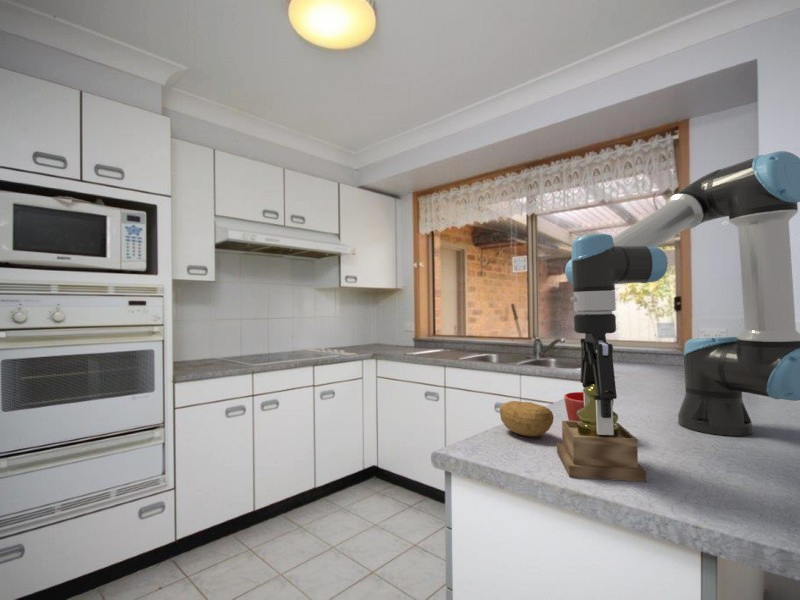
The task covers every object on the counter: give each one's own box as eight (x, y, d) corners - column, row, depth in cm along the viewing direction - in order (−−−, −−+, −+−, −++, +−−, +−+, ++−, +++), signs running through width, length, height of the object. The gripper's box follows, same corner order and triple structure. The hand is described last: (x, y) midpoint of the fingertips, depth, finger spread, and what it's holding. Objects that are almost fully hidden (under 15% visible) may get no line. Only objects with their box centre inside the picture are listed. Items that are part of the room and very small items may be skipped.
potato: (514, 425, 110) (514, 395, 110) (562, 438, 98) (561, 404, 99) (489, 431, 104) (489, 400, 104) (537, 446, 93) (536, 411, 93)
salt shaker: (626, 436, 80) (625, 385, 80) (604, 443, 76) (603, 389, 76) (591, 427, 86) (590, 380, 87) (569, 433, 82) (568, 383, 83)
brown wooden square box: (622, 455, 86) (621, 421, 86) (646, 481, 74) (645, 441, 74) (556, 452, 89) (556, 418, 89) (569, 476, 76) (568, 437, 76)
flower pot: (621, 445, 93) (620, 402, 93) (569, 442, 95) (568, 400, 95) (607, 431, 103) (606, 392, 103) (561, 429, 105) (560, 391, 106)
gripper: (563, 312, 93) (567, 412, 93) (587, 314, 72) (592, 444, 71) (599, 311, 92) (602, 413, 91) (634, 313, 70) (639, 445, 70)
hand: (598, 426), depth 81 cm, fingers open, 9 cm apart
